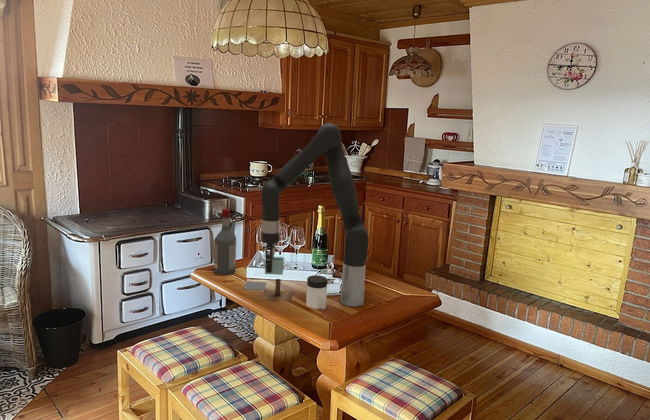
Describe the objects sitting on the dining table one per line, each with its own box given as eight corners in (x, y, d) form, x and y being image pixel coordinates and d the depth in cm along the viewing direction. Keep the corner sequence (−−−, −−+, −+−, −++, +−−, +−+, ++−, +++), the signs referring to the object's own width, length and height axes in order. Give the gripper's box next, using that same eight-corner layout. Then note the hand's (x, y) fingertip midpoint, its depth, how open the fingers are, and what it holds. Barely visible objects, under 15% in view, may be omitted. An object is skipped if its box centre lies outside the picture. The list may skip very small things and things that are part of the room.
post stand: (292, 294, 210) (293, 276, 208) (291, 302, 201) (292, 284, 199) (264, 292, 209) (264, 275, 208) (261, 301, 201) (262, 282, 199)
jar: (311, 312, 193) (313, 283, 190) (301, 304, 200) (302, 277, 197) (330, 308, 198) (332, 280, 195) (319, 301, 205) (321, 273, 202)
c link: (264, 274, 200) (265, 261, 198) (266, 269, 205) (266, 256, 204) (282, 274, 200) (282, 261, 199) (283, 269, 206) (283, 257, 204)
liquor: (236, 268, 236) (237, 208, 230) (232, 275, 227) (234, 212, 221) (217, 267, 236) (218, 207, 229) (213, 274, 227) (213, 211, 221)
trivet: (266, 284, 219) (266, 282, 218) (264, 292, 210) (264, 289, 210) (246, 283, 218) (246, 281, 218) (243, 291, 210) (243, 288, 209)
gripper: (278, 235, 192) (277, 276, 195) (281, 226, 206) (280, 264, 210) (259, 234, 192) (258, 275, 195) (263, 225, 206) (262, 263, 209)
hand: (269, 269), depth 202 cm, fingers closed on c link, 6 cm apart
